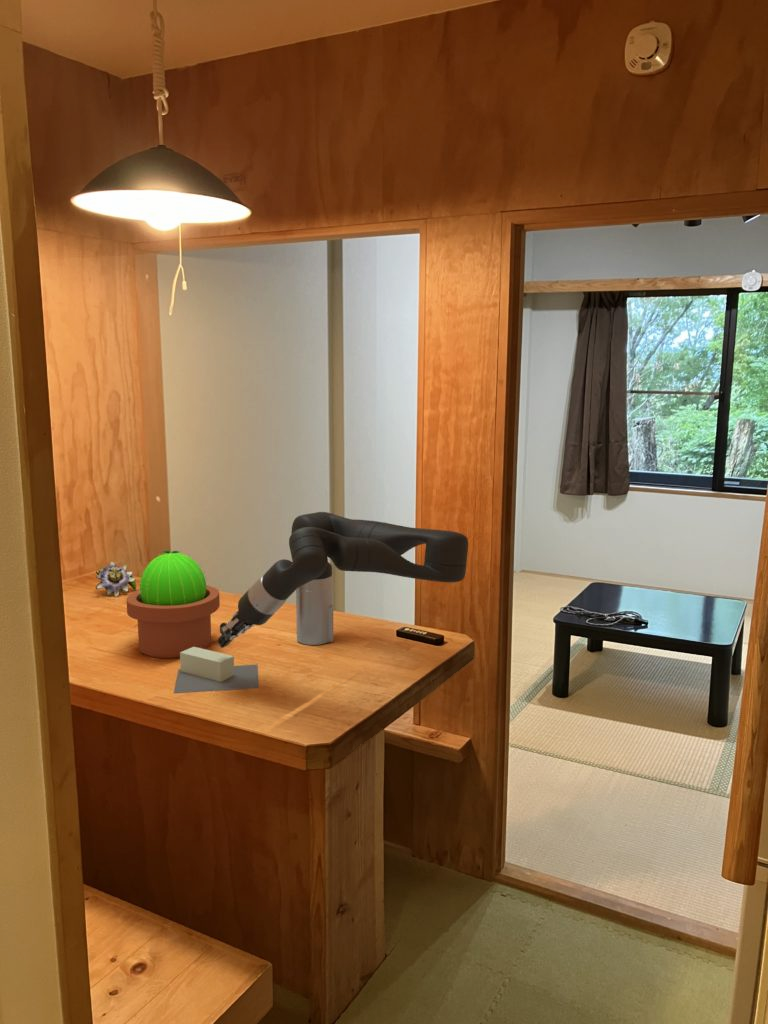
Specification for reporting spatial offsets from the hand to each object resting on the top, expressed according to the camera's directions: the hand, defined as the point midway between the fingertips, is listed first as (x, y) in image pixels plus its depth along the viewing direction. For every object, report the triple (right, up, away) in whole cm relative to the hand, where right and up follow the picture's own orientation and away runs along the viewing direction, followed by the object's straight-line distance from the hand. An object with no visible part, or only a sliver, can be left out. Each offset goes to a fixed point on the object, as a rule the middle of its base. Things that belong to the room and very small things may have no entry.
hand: (221, 643), depth 177 cm
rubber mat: (-1, -9, +1) cm, 9 cm away
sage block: (+1, -6, 0) cm, 6 cm away
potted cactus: (-16, -5, +23) cm, 29 cm away
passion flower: (-47, +4, +70) cm, 84 cm away
